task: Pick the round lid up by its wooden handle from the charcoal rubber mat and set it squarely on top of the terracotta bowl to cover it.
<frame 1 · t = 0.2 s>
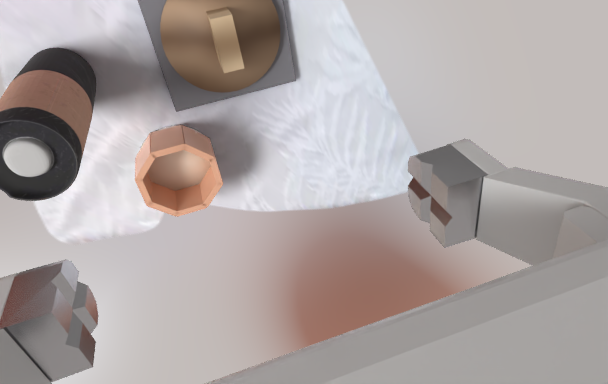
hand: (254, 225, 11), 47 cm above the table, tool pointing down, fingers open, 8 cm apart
mat: (220, 32, 53), on the table
travel mug: (62, 78, 51), on the table
bowl: (177, 159, 61), on the table
lid: (221, 33, 53), point 1 cm above the table, touching mat
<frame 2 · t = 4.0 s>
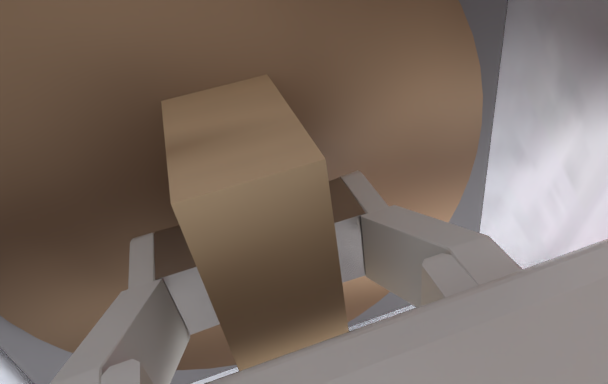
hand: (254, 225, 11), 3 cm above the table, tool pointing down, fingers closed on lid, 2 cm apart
mat: (235, 164, 13), on the table
lid: (239, 178, 12), point 1 cm above the table, touching gripper, mat
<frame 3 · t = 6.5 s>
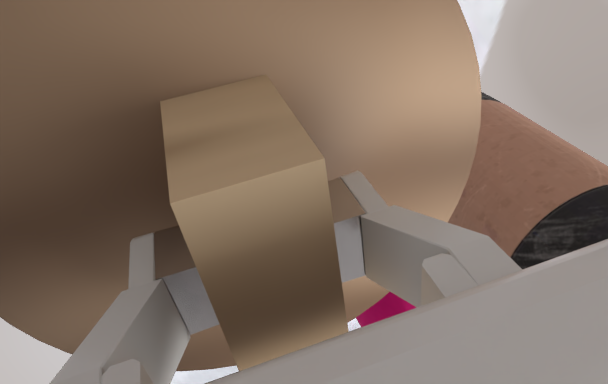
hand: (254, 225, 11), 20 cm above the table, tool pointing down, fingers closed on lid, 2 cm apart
travel mug: (400, 105, 34), on the table
pepper mill: (373, 267, 42), on the table
lid: (238, 179, 12), point 18 cm above the table, touching gripper
when the fingers open (10 cm above the table, at t = 9.4 s): lid drops 1 cm, resting on bowl.
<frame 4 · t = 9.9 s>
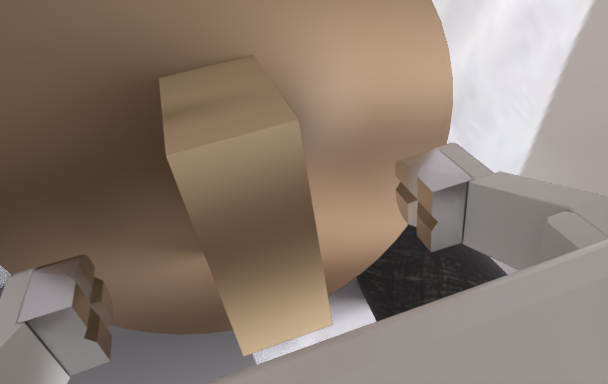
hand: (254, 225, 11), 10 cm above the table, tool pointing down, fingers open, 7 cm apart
mat: (107, 372, 25), on the table
travel mug: (406, 256, 28), on the table
lid: (230, 153, 13), point 6 cm above the table, touching bowl
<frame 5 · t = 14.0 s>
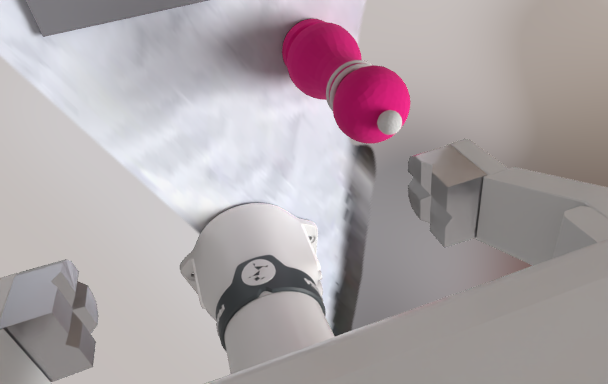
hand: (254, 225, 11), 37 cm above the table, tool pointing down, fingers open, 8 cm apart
pepper mill: (309, 48, 47), on the table
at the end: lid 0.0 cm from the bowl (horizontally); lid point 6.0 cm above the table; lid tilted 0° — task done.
